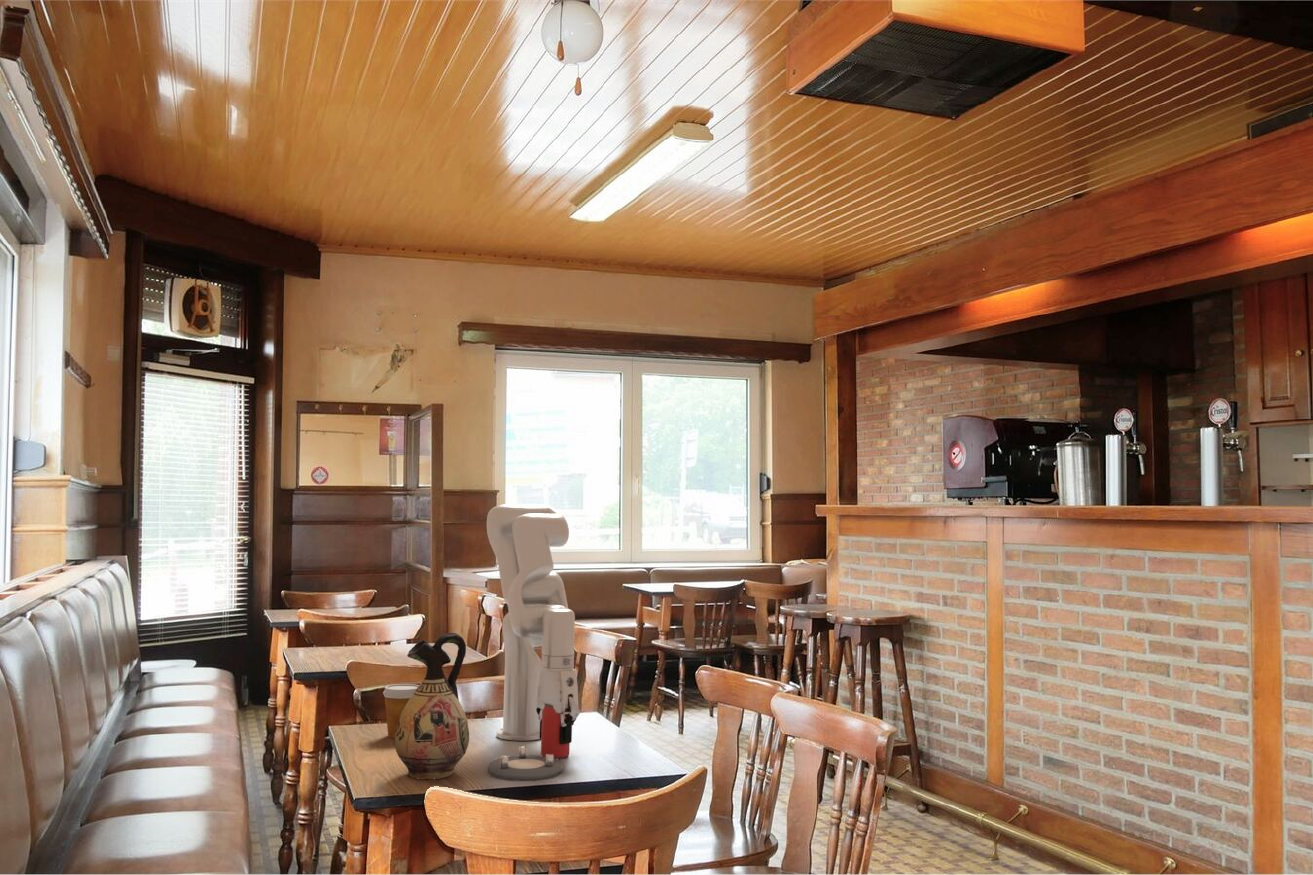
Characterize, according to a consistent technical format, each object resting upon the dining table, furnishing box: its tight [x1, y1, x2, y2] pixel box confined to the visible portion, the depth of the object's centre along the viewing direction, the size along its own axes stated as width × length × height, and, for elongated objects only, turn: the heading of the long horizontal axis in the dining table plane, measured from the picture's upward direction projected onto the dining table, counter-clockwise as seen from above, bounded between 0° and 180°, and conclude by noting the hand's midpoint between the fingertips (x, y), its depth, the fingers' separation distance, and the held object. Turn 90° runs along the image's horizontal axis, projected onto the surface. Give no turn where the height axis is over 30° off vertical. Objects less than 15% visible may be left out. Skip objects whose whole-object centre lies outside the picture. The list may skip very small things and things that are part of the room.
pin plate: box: [487, 754, 563, 782], centre depth 223 cm, size 16×16×2 cm
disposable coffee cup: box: [382, 683, 420, 739], centre depth 256 cm, size 10×10×12 cm
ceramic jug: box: [394, 632, 470, 780], centre depth 220 cm, size 17×15×30 cm
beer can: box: [540, 704, 571, 760], centre depth 238 cm, size 7×7×12 cm
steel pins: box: [500, 745, 553, 769], centre depth 222 cm, size 10×11×2 cm
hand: (555, 739), depth 237 cm, fingers closed on beer can, 6 cm apart
